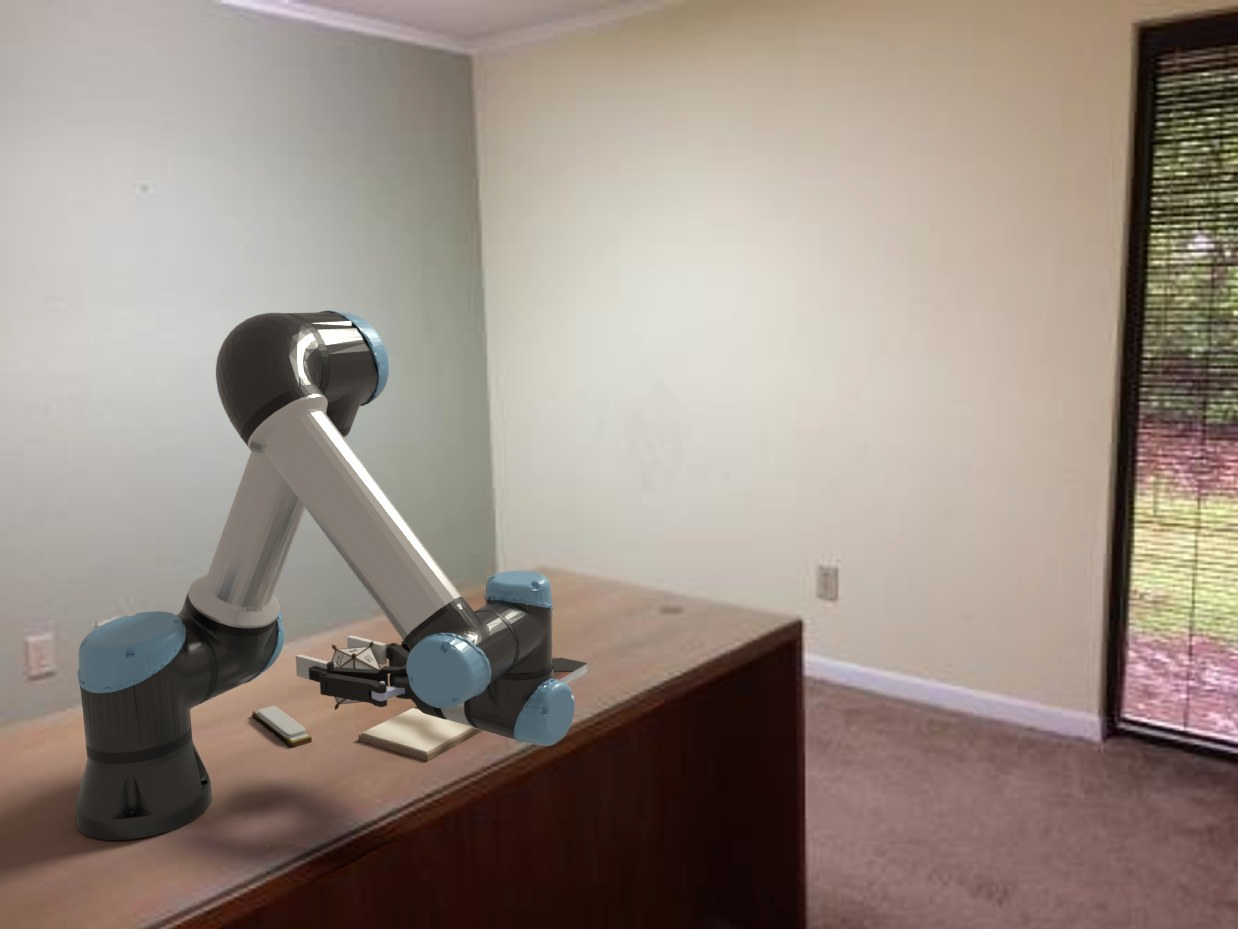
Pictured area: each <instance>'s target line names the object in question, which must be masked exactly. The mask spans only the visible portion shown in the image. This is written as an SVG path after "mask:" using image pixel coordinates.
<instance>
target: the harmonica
mask: <svg viewBox="0 0 1238 929" xmlns="http://www.w3.org/2000/svg"><path fill="white" fill-rule="evenodd" d="M251 718H252V719H253V720H255V721H256V722H257V723H259V724H260V725H261V726H262V727H263V728H265V729H266V730H267V731H268V732H270V733H272V735H274V736H275V737H277V739H278V740H280V741H281V742H283V744H285V745H287V746H288V747H289V748H291V749H293V748H297V747H300V746H305V745H306V744H310V743H312V742H313V740H312V736H311V735H310V734H308V733H307V731H306V727H304V726H303V725H302V724H300V723H299V722H298V721H296V719H293V718H292V717H291V716H289V715H288V714H287V713H285V712H284V711H282V710H281V709H280V708H279V707H278V706H275V705H270V706H267V707H264V708H263V707H262V708H259V709H258V710H254V711H252V714H251Z"/></svg>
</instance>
